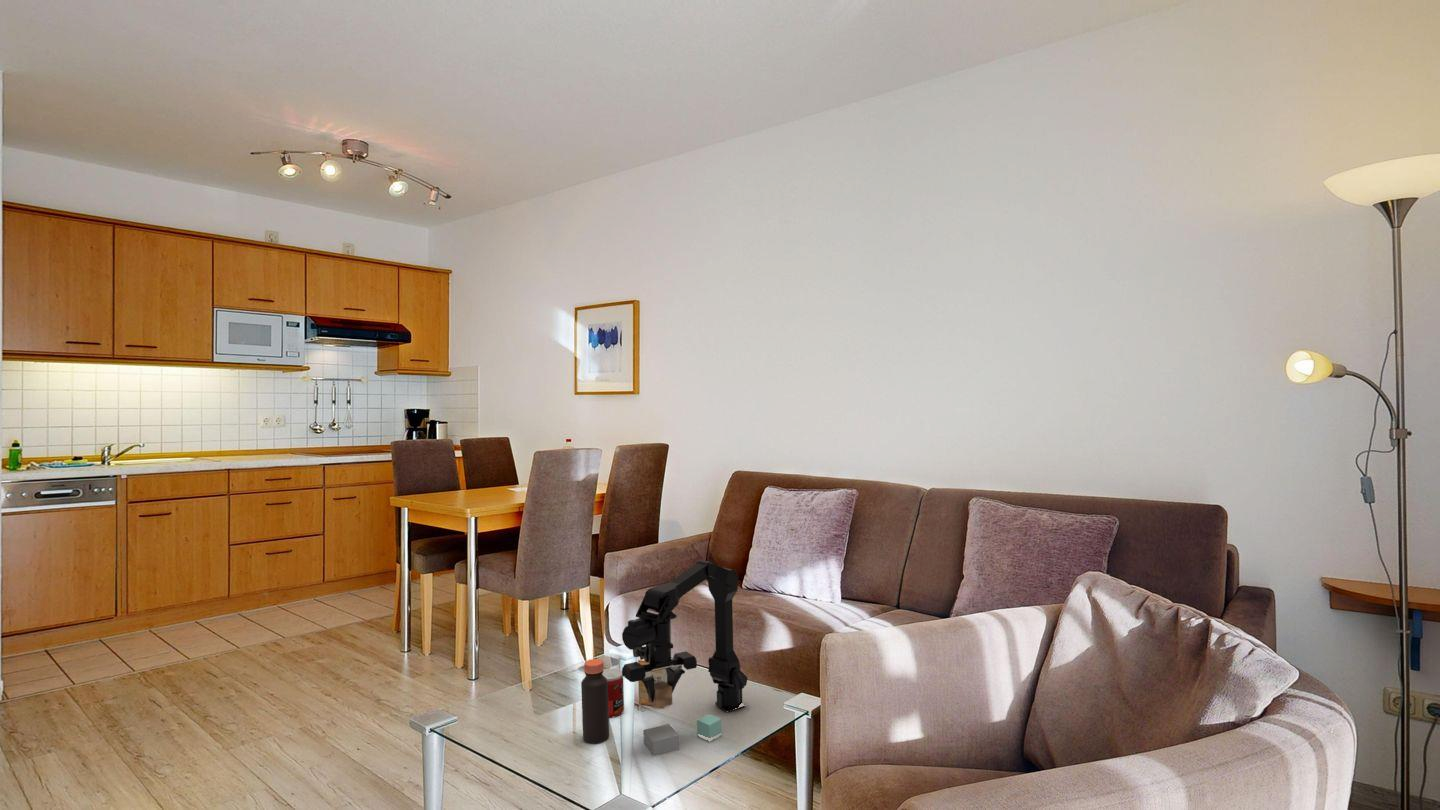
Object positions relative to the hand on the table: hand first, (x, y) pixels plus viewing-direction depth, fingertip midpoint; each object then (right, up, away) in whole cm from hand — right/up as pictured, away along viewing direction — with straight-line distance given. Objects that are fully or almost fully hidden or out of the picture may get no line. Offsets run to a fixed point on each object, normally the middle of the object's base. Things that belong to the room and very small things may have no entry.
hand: (660, 699), depth 190 cm
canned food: (-16, -12, +20) cm, 28 cm away
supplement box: (-4, -11, +25) cm, 27 cm away
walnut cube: (0, -1, 0) cm, 1 cm away
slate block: (0, -12, -1) cm, 12 cm away
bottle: (-17, -12, +5) cm, 21 cm away
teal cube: (+13, -11, +4) cm, 17 cm away
